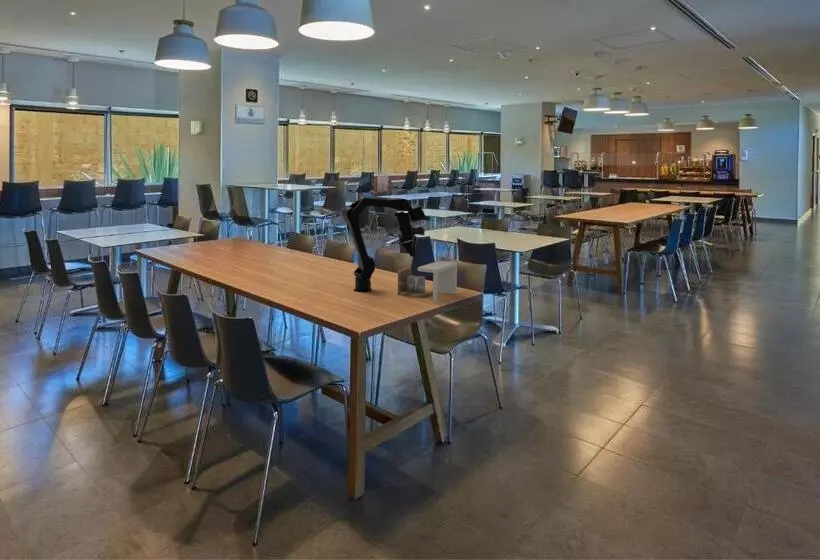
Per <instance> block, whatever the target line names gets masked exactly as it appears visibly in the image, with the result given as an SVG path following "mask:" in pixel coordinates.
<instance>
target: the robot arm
mask: <svg viewBox="0 0 820 560" xmlns="http://www.w3.org/2000/svg"><path fill="white" fill-rule="evenodd" d="M367 207H375V208H376V207H377V208H389V209H392V210H395V211H394V212H393V214H392V216H391V218H392V219H394V218H396V221H397V225H398V230H399V232H400V237H399V241H400V244H401V245H402V247H403V248H404V249H405V250H406V251H407V254H409V256H410V257H411V258H415V257H416V256H417V255H416V254H417V253H416V244H417V243H418V238H417V236H416V235H419V236H425V235H426V234H425V232H426V230H425V229H426V228H424V227H422V226H417V227H414V226H413V225H412V223H417V222H423V221H425V218H426V216H425V215H426V213H424V212H425V211H424V210H423V208H422V205H421V206H418V205H417V206H416V207H412V206H411V205H410V203H409V201H408V200H407V199H406V198H400V197H395V198H390V199H389V198H388V199H387V198H386V199H385V198H376V197H375V198H373V197H366V196H365V197H364V196H361V197H359V198H358V199H357V200H355V202H353V203H351V204H350V205H349V206H348V207H347V206H346V207H345V208H343V209H342V211H341V215H342V218H343V220H344V222H345V224H346V225H347V226H348V228H349V231H350V233H351V236H352V237H351V238H352V240H353V243H354V247H355V250H356V254H357V268H356V269H355V270H354V271H353V274H354V277H355V280H354V282H355V284H354V285H355V287H354V289H353V291H354V292H360V293H365V292H366V293H367V292H369V291H370V292H371V291H372V290H373V288H372V281H371V279H372V275H373V274H374V272H375V270H376V265H377V264H375V261H374V260H375V259H374V257H372V256H370V255H368V251H367V248H366V244H365V241H364V239H363V234H362V231H361V228H360V215H361V213H363V211H364V210H365V209H366V208H367ZM397 211H398V212H397Z"/></svg>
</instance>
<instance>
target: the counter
mask: <svg viewBox="0 0 820 560" xmlns="http://www.w3.org/2000/svg"><path fill="white" fill-rule="evenodd" d="M417 271H418V272H425V273H433V274H432V275H433V276H432V277H433V278H432V279H433V280H432V287H433V288H432V291H433V294H432V304H433V303H435V304H437V303H438V299H439V297H438V293H443V294H448V295H449V294H450V295H457V287H458V286H457V284H458V283H457V282H458V281H457V280H458V276H457V275H458V262H455V261H446V260H438V261H433V262H430V263H427V264H424V265H420V266H418V267H417Z"/></svg>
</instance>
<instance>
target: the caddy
mask: <svg viewBox="0 0 820 560" xmlns="http://www.w3.org/2000/svg"><path fill="white" fill-rule="evenodd" d="M397 295H398V296H405V297H413V298H421V299H424V298H427V297H429V296H431V295H432V296H433V290H428V289H427V290H426V276H422V275H420V276H418V275H417V276H416V275H414V274H413V275H412V267H406V268H403V269H399V270H397Z"/></svg>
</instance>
